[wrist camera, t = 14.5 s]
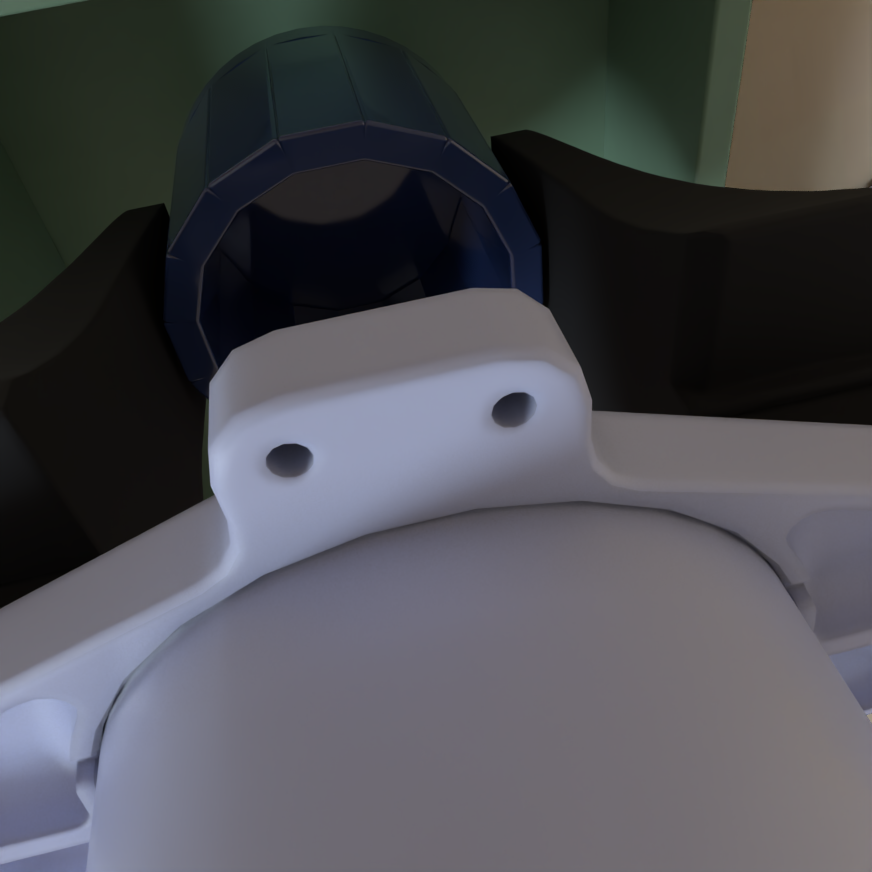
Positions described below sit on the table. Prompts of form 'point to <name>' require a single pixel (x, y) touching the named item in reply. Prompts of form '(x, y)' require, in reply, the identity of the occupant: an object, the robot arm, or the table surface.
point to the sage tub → (355, 8)
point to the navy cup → (330, 195)
